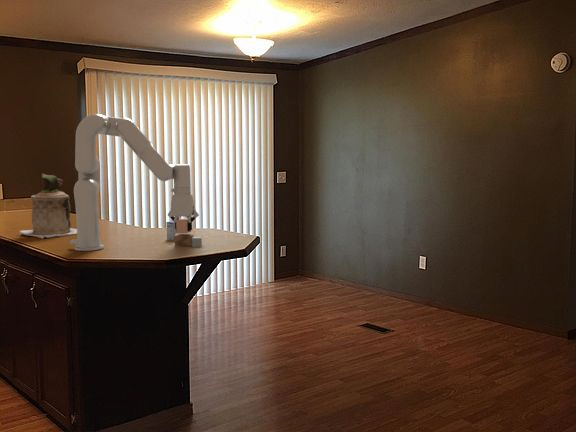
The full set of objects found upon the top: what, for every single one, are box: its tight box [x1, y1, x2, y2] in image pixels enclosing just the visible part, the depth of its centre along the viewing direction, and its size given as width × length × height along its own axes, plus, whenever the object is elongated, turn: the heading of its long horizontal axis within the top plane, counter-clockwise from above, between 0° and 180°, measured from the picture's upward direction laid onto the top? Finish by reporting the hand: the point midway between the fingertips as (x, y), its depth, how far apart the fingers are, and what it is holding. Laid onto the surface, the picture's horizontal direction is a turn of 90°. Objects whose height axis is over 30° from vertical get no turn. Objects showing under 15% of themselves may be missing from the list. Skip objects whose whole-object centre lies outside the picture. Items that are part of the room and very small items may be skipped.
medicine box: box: [165, 220, 179, 241], centre depth 282 cm, size 8×4×9 cm, turn 149°
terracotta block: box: [176, 218, 192, 233], centre depth 263 cm, size 5×5×6 cm
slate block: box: [191, 236, 203, 248], centre depth 260 cm, size 4×4×4 cm
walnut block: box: [174, 232, 194, 247], centre depth 264 cm, size 8×8×5 cm
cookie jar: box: [19, 173, 77, 239], centre depth 302 cm, size 25×25×32 cm
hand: (183, 230), depth 264 cm, fingers closed on terracotta block, 5 cm apart
